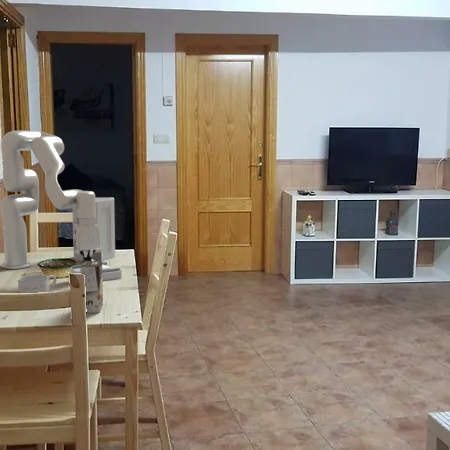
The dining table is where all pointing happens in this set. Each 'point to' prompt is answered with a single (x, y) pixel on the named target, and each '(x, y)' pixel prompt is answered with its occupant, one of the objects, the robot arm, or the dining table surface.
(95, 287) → the coffee box
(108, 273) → the socket
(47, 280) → the teacup
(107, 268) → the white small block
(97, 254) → the plug
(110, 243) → the tall white carton
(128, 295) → the dining table surface
